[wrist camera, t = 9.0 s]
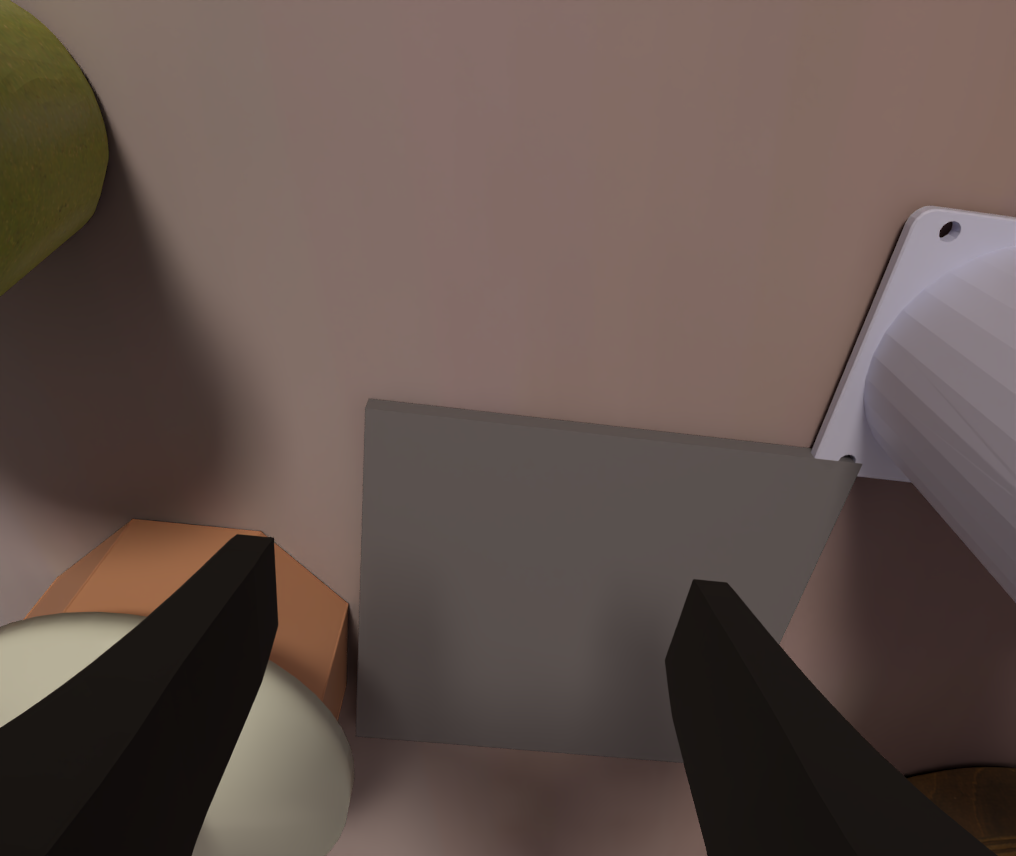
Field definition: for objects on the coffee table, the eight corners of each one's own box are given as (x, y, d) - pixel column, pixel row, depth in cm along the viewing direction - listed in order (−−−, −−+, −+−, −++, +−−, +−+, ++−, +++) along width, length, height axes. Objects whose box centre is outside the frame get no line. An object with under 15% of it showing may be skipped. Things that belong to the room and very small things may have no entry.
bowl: (349, 539, 24) (314, 657, 19) (346, 730, 29) (317, 857, 24) (40, 509, 23) (-69, 624, 19) (92, 709, 28) (16, 836, 24)
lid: (411, 689, 20) (387, 853, 16) (294, 898, 26) (257, 1055, 22) (-62, 553, 17) (-226, 708, 13) (-73, 818, 23) (-191, 980, 19)
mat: (854, 453, 22) (862, 463, 21) (719, 752, 29) (722, 766, 29) (368, 398, 21) (365, 408, 20) (358, 723, 28) (355, 736, 28)
